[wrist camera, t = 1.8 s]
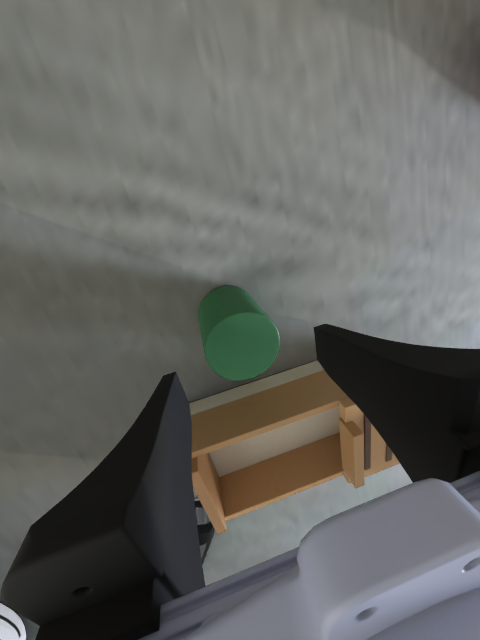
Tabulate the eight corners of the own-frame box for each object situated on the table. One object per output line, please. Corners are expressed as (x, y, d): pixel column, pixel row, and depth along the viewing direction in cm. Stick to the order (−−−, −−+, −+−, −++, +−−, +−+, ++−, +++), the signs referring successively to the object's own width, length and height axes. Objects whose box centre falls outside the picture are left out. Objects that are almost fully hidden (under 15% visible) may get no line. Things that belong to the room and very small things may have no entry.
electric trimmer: (165, 578, 31) (164, 615, 28) (184, 498, 26) (184, 534, 23) (195, 573, 32) (196, 608, 29) (218, 495, 27) (223, 529, 24)
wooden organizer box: (365, 343, 23) (435, 391, 17) (365, 412, 27) (422, 472, 20) (182, 404, 21) (183, 485, 15) (211, 469, 25) (221, 554, 19)
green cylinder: (248, 278, 18) (274, 301, 13) (259, 329, 20) (285, 367, 15) (190, 295, 18) (194, 326, 13) (207, 346, 19) (216, 390, 14)
